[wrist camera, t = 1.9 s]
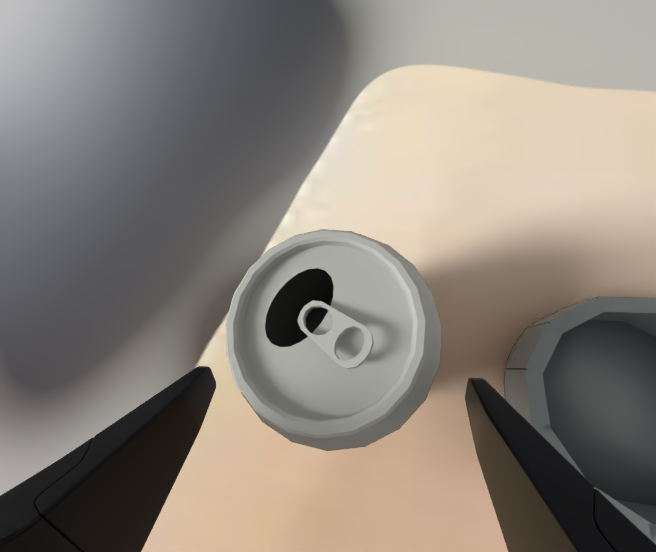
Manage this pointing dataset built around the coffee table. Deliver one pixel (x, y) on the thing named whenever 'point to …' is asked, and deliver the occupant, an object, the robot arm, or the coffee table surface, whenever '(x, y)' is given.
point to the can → (333, 339)
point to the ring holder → (595, 396)
